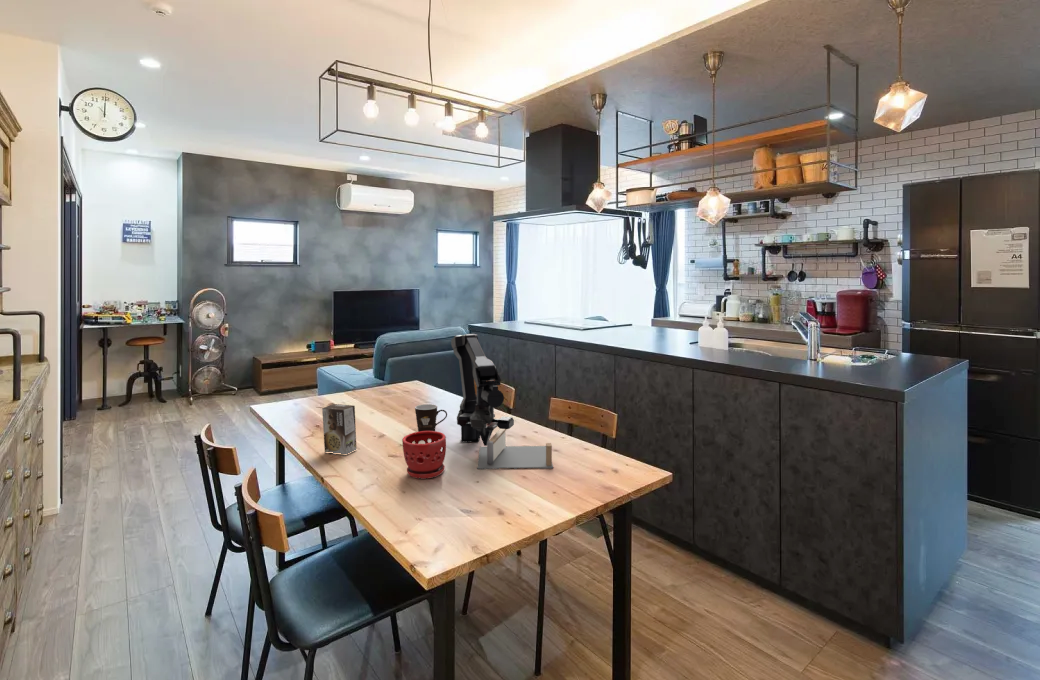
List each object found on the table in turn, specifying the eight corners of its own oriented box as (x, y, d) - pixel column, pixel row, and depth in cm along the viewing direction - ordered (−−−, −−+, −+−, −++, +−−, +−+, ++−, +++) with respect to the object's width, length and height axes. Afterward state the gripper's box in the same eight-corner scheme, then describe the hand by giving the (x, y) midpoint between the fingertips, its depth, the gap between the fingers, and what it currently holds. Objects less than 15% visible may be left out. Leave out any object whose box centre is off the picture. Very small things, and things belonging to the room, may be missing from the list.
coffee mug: (411, 433, 213) (410, 408, 211) (423, 427, 221) (422, 403, 219) (437, 437, 208) (436, 411, 207) (448, 431, 216) (448, 406, 215)
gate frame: (477, 469, 175) (477, 447, 174) (479, 448, 196) (479, 428, 195) (553, 468, 176) (553, 446, 175) (547, 447, 197) (547, 428, 196)
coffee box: (357, 450, 193) (355, 405, 191) (346, 456, 187) (344, 409, 185) (335, 447, 196) (333, 403, 194) (323, 453, 190) (321, 407, 188)
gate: (492, 464, 176) (492, 443, 175) (486, 464, 177) (486, 442, 176) (506, 446, 194) (506, 427, 193) (501, 446, 195) (501, 426, 194)
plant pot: (408, 466, 178) (407, 430, 176) (449, 466, 177) (448, 430, 176) (398, 481, 165) (397, 442, 163) (442, 482, 164) (441, 443, 163)
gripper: (449, 404, 182) (450, 450, 184) (503, 408, 176) (503, 455, 178) (463, 396, 193) (464, 440, 195) (514, 400, 187) (514, 445, 189)
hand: (485, 445), depth 189 cm, fingers closed
